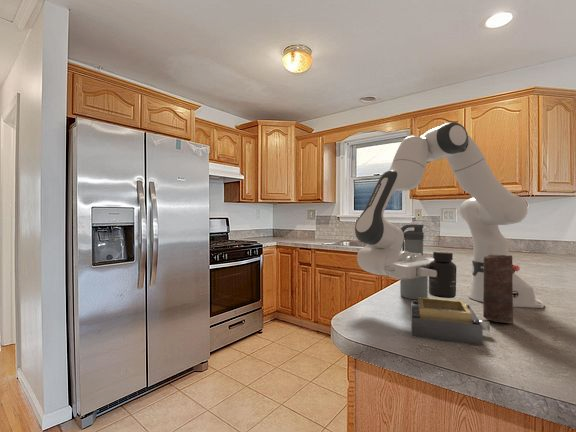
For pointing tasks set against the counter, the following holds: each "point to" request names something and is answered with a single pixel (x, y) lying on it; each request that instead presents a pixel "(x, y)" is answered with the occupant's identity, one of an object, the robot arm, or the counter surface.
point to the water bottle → (414, 245)
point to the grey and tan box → (446, 321)
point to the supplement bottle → (443, 276)
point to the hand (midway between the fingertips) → (445, 272)
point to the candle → (498, 288)
